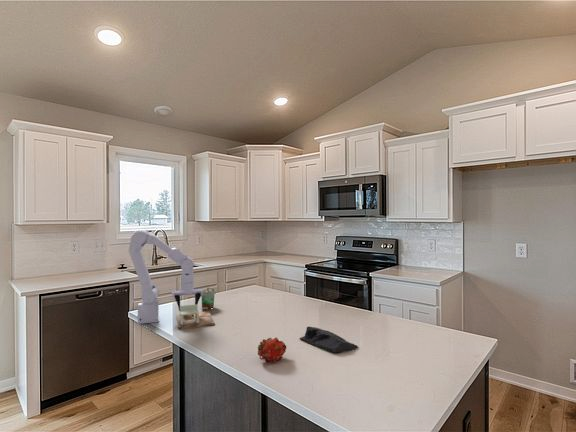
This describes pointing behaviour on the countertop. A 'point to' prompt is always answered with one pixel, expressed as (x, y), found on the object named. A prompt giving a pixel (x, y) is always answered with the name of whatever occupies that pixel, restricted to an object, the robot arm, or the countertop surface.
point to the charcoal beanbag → (327, 340)
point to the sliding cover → (189, 312)
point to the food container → (208, 299)
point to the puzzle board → (204, 320)
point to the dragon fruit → (271, 349)
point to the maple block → (187, 316)
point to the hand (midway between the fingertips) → (187, 309)
